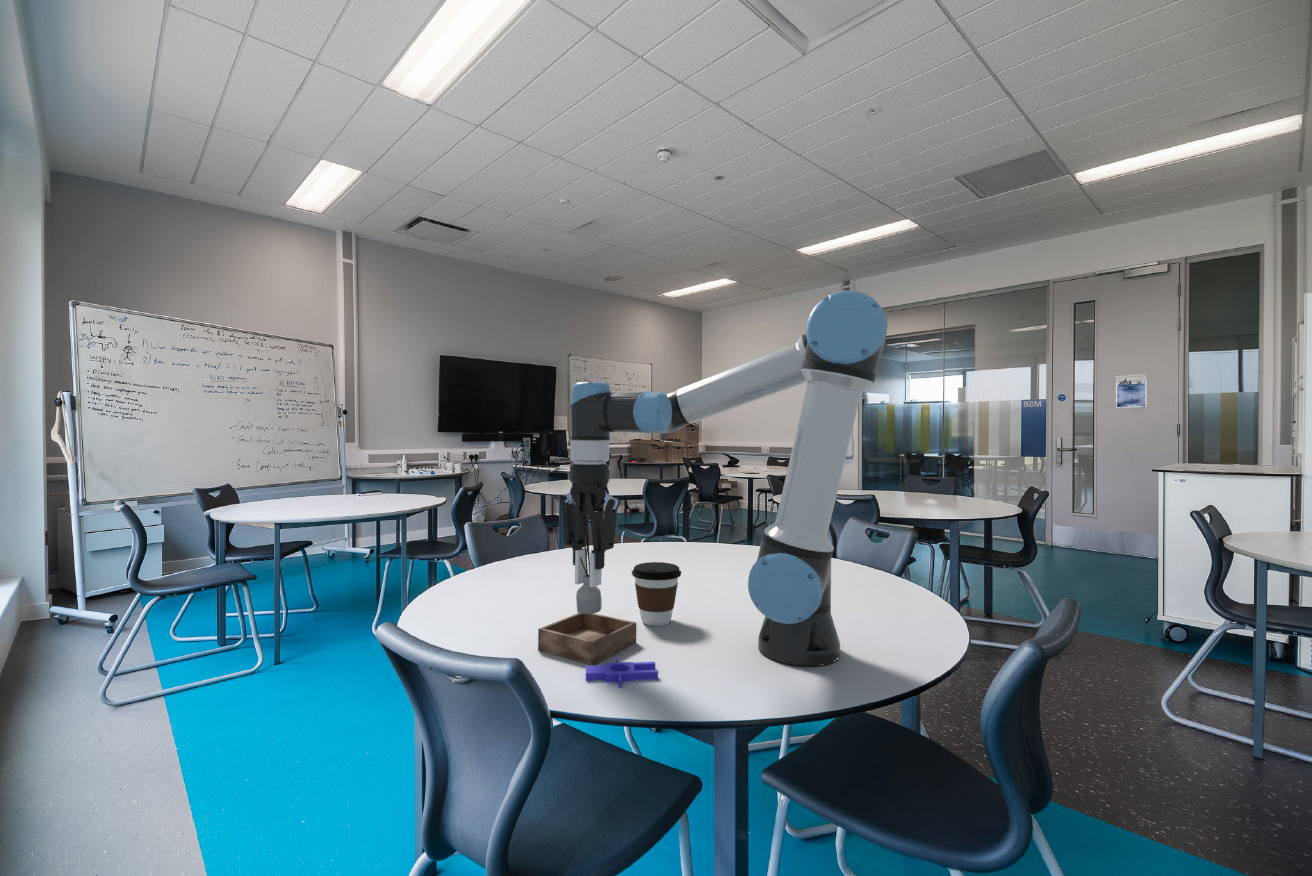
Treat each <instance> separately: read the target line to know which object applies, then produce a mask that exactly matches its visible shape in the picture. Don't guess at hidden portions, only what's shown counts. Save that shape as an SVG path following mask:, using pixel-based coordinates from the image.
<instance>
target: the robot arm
mask: <svg viewBox="0 0 1312 876" xmlns="http://www.w3.org/2000/svg"><path fill="white" fill-rule="evenodd" d="M805 330H806V332H805V333H804V334H802V335H800V336H799V338H798V340H797V342H796V343H793V344H791V345H788V346H785V347H783V348H781V349H778V350H776V351H773V352H771V353H768V354H766V355H763V356H761V357H758V358H756V359H752V360H750V361H748V362H744V363H743V364H740V365H737V366H734V367H732V368H730V369H727V370H725V371H722V372H719V373H717V374H714V375H711V376H709V377H707V378H704V379H702V380H699V381H698V380H697V382H694V383H691V384H689V385H686V386H684V387H681V388H678V389H676V390H674V391H671V392H668V393H664V392H655V391H642V392H636V391H635V392H612V390H611V386H610V384H609V383H607V382H601V381H600V382H599V381H582V382H581V381H580V382H576V383H574V384H573V385H572V388H571V397H570V399H571V401H570V405H569V408H570V448H569V449H570V451H569V460H570V461H572V462H573V463H571V464H570V466H569V481H570V482H571V487H570V490H569V492H567V493H566V494H560V495H559V502H560V505H561V507H562V510H561V511H562V524H563V525H562V526H563V541H564V542H563V543H564V545H565V546H569V547H571V549H572V565H573V566H574V569H575V570H574V585H577V586H578V585H581V584H583V576H584V575H586V573H585V570H584V568H583V565H582V562H581V559H580V557H581V558H582V561H583V564H584V566H585V569H586V559H585V546H584V533H583V521H582V516H583V512H584V513H585V522H586V527H587V518H588V517H589V519H590V527H591V528H590V530H591V538H592V549H591V550H590V551H589V557H590V586H589V587H595V586H596V587H598V586H600V585H602V569H604V567H605V553H606V551H609V550H612V549H613V548H614V546H615V535H616V526H617V514H618V509H619V507H620V504H621V498H619V497H617V498H616V497H613V496H612V495H610V491H609V489H608V484H609V482H610V465H609V464H608V463H607V462H608V461H610V436H611V435H610V434H611V433H635V434H637V433H640V434H641V433H642V434H662V435H668V434H673V433H676V432H678V431H679V430H681V429H682V428H683V427H687V426H689V425H690V424H693V423H697V422H699V421H702V420H705V419H707V418H711V417H714V416H716V415H719V414H721V413H725V412H727V411H730V410H732V409H735V408H738V407H742V406H743V405H747V404H749V403H752V402H755V401H758V400H761V399H763V398H765V397H768V396H771V395H775V394H777V393H780V392H782V391H786V390H788V389H791V388H794V387H796V386H799V385H802V384H804V383H805V384H806V388H805V392H804V396H803V402H802V406H801V410H800V415H799V418H798V419H799V420H798V424H797V427H796V432H795V437H794V441H793V444H792V447H791V448H792V449H791V452H790V458H789V462H788V466H787V470H786V475H785V479H784V482H783V483H784V484H783V487H782V492H781V496H780V501H779V505H778V509H777V513H776V517H775V521H774V523H772V524H771V525H768V526H767V527H765V528H764V531H763V534H762V538H761V541H760V545H759V551H758V554H757V555H758V556H757V559H756V561H755V563H754V564H753V565H752V566H751V569H750V570H749V575H748V579H747V580H748V581H747V589H748V594H749V597H750V599H751V602H752V603H753V605H754V606H755V608H756V609H757V610H758V611H759V612H760V613H761V614H762V615H763V616H764V619H763V621H762V624H761V628H760V630H759V634H758V637H757V638H758V640H757V641H758V646H757V648H758V649H757V650H759V652H760V654H762V655H763V656H765V657H766V658H768V659H771V660H773V661H776V662H779V663H782V664H786V665H792V666H799V665H820V666H822V665H821V664H827V663H830V662H833V661H834V660H836V659H837V658H839V656H840V657H841V641H840V638H839V635H838V632H837V629H836V625H835V623H834V620H833V616H832V611H831V609H832V608H831V607H832V606H831V605H832V557H833V553H834V549H835V547H834V545H833V543H832V538H831V536H830V534H829V530H830V524H831V520H832V515H833V512H834V508H835V504H836V499H837V495H838V492H839V486H840V482H841V479H842V474H843V471H844V466H845V461H846V457H847V453H848V451H849V450H848V449H849V445H850V441H851V437H852V433H853V429H854V425H855V422H856V421H855V420H856V416H857V411H858V409H859V403H860V400H861V395H862V394H863V392H864V391H866V390H868V389H869V388H871V387H873V386H874V383H875V379H876V376H877V372H878V367H879V362H880V359H881V356H882V354H883V351H884V349H885V347H886V342H887V331H888V319H887V315H886V313H885V311H884V310H883V308H882V306H881V304H879V302H878V301H876V299H874V298H873V297H871V295H869V294H867V293H865V292H862V291H858V290H852V289H851V290H849V289H847V290H840V291H836V292H834V293H831V294H829V295H827V296H825V297H823V299H821V300H819V302H817V304H816V305H815V306H814V307H813V309H812V310H811V312H810V313H809V316H808V318H807V322H806V326H805ZM604 507H605V508H604ZM564 515H565V516H566V518H567V521H568V524H569V526H570V529H571V532H572V534H573V537H574V540H575V544H574V541H573V538H572V536H571V533H570V530H569V528H568V525H567V522H566V520H565V517H564ZM584 528H585V526H584ZM576 547H577V548H578V550H577V549H576ZM586 554H587V548H586ZM587 555H588V554H587ZM839 659H840V658H839ZM833 663H834V662H833ZM830 664H831V663H830ZM827 665H828V664H827Z"/></svg>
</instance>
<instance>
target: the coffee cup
mask: <svg viewBox="0 0 1312 876" xmlns="http://www.w3.org/2000/svg"><path fill="white" fill-rule="evenodd" d="M631 575H632V576H633V577H634V580H635V582H634V586H635V594H636V600H637V607H638V609H639V614H640V619H641V622H642V623H643V624H644V625H647V626H652V627H660V626H666V624H667V625H668V624H669V623H670V622H671V620H672V617H673V610H674V608H675V602H676V596H677V592H678V591H677V589H678V586H679V585H678V584H679V582H678V580H679V579H678V578H680V577H682V576H681V575H682V571H681V570H680V566H678V565H677V564H674V563H672V562H671V563H670V562H661V561H659V562H658V561H656V562H653V561H651V562H643V563H637V564H635V566H634V567H633V569H632V571H631Z"/></svg>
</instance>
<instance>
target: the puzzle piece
mask: <svg viewBox="0 0 1312 876" xmlns="http://www.w3.org/2000/svg"><path fill="white" fill-rule="evenodd" d="M658 679H659V670H658V669H656V662H655V661H644V662H643V661H642V662H641V661H640V662H639V661H638V662H634V661H627V662H626V661H623V662H622V661H621V662H620V661H619V657H618V656H616V657H615V662H605V663H604V664H596V665H585V681H593V682H594V681H605V682H606V683H614V682H615V683H617V684H618V688H619V689H621V688H623V687H622V685H623V683H622V682H635V681H644V680H645V681H646V680H658Z"/></svg>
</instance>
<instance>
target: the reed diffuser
mask: <svg viewBox="0 0 1312 876" xmlns="http://www.w3.org/2000/svg"><path fill="white" fill-rule="evenodd" d="M564 517H565V520H566V522H567V525H568V528H569V530H570V533H571V536H572V538H573V541H574V544H575V540H574V537H573V534H572V532H571V529H570V526H569V524H568V521H567V518H566V516H565V515H564ZM582 521H583V533H584V546H585V547H584V548H585V559H586V569H585V566H584V564H583V561H582V558H581V557H580V559H581V562H582V565H583V568H584V570H585V573H586V575H584V576H583V583H582V585H581V586H580V587H579V588H578V589H577V590H576V596H575V599H576V611H577V613H581V614H593V613H595V614H598V613H599V612H601V610H602V606H603V605H602V604H603V601H602V599H603V598H602V593H601V592H602V591H601V589H600V588H599V587H598V586H595V587H589V586H590V542H589V541H590V538H589V524H588V523H589V519H588V518H587V526H586V522H585V513H584V512H583V516H582ZM584 526H585V528H584ZM576 549H577V550H578V548H577V547H576ZM586 549H587V554H586Z"/></svg>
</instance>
